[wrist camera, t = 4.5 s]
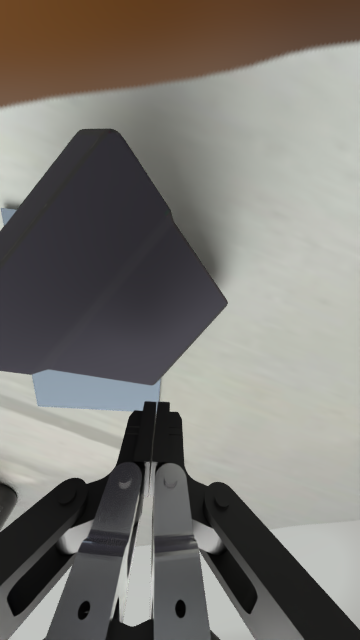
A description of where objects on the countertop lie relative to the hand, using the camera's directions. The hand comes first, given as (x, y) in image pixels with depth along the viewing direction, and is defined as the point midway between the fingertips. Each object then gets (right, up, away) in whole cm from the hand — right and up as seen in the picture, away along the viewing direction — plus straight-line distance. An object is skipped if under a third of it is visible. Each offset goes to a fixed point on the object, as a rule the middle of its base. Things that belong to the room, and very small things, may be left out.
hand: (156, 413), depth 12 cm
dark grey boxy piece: (+2, +4, +8) cm, 9 cm away
